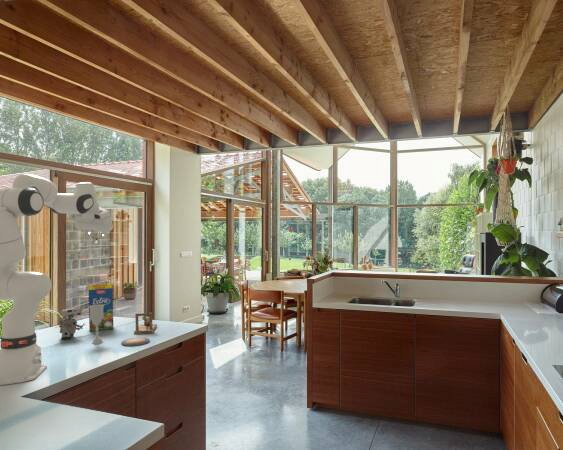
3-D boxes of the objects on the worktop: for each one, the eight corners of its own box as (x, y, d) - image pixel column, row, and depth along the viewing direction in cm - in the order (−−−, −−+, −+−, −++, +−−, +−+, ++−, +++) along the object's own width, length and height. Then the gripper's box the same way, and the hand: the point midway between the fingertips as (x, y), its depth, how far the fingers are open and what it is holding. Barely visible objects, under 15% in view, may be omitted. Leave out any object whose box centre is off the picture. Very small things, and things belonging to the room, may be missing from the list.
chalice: (99, 344, 206) (98, 307, 206) (86, 344, 207) (85, 307, 207) (108, 340, 213) (107, 304, 213) (95, 340, 214) (95, 304, 214)
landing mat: (151, 344, 205) (150, 342, 205) (121, 347, 200) (121, 345, 200) (148, 337, 217) (148, 336, 217) (120, 341, 212) (120, 339, 212)
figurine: (82, 338, 219) (82, 309, 219) (57, 340, 216) (57, 310, 216) (85, 334, 228) (85, 306, 228) (61, 336, 225) (61, 307, 225)
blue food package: (89, 329, 239) (88, 284, 239) (112, 326, 245) (111, 282, 245) (89, 331, 234) (88, 285, 234) (113, 328, 239) (112, 283, 239)
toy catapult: (140, 327, 241) (139, 309, 241) (156, 326, 242) (156, 308, 242) (134, 334, 225) (133, 315, 225) (151, 333, 226) (151, 314, 226)
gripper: (69, 213, 217) (75, 238, 223) (104, 216, 212) (109, 241, 218) (77, 209, 223) (83, 233, 228) (112, 211, 217) (117, 236, 223)
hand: (96, 237), depth 223 cm, fingers open, 8 cm apart
